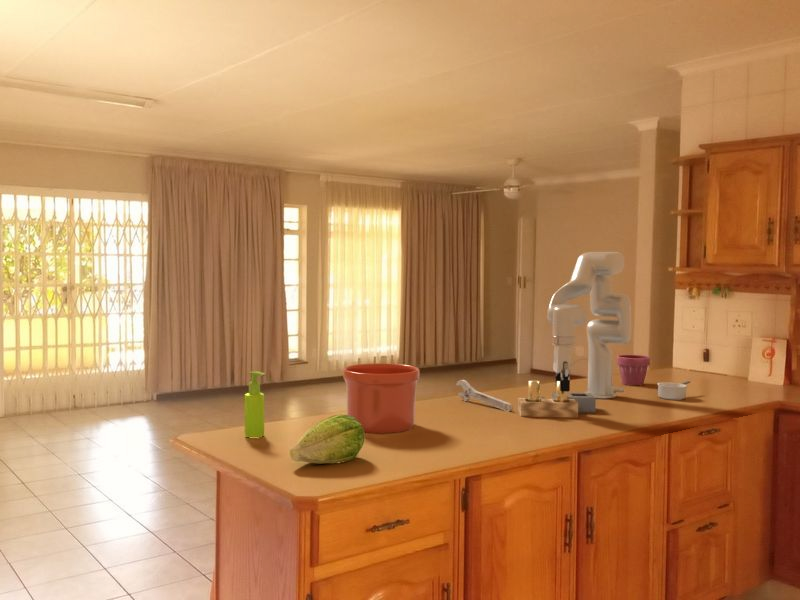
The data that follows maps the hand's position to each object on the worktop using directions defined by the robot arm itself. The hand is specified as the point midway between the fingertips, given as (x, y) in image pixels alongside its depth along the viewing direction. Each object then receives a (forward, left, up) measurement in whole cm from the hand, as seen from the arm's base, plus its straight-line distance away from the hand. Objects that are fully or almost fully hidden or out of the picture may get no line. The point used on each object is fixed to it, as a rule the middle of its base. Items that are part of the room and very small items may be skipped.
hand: (562, 388), depth 254 cm
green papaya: (+74, +68, -10) cm, 101 cm away
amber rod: (+10, 0, -9) cm, 14 cm away
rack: (+5, 0, -9) cm, 11 cm away
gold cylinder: (0, 0, -9) cm, 9 cm away
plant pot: (-44, -71, -10) cm, 84 cm away
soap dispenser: (+100, +42, -10) cm, 109 cm away
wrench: (+27, -15, -10) cm, 32 cm away
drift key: (+1, -10, -9) cm, 13 cm away
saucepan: (-54, -41, -10) cm, 68 cm away
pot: (+63, +24, -10) cm, 68 cm away
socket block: (-6, -10, -9) cm, 15 cm away
